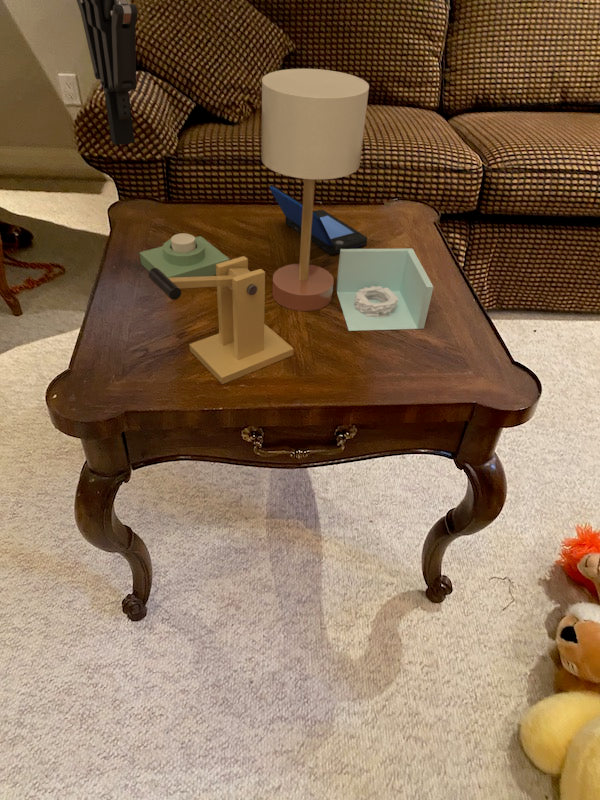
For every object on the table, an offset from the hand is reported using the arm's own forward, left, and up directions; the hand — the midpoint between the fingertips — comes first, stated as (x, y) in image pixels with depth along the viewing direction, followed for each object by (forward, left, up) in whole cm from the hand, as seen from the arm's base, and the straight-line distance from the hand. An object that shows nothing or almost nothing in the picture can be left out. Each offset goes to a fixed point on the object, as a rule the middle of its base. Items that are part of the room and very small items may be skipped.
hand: (123, 142), depth 81 cm
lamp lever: (-1, -23, -11) cm, 26 cm away
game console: (+36, 0, -24) cm, 43 cm away
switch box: (+9, +3, -23) cm, 25 cm away
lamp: (+21, -15, -23) cm, 35 cm away
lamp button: (+9, +3, -20) cm, 22 cm away
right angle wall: (+29, -25, -24) cm, 45 cm away
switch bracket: (+4, -23, -23) cm, 33 cm away
